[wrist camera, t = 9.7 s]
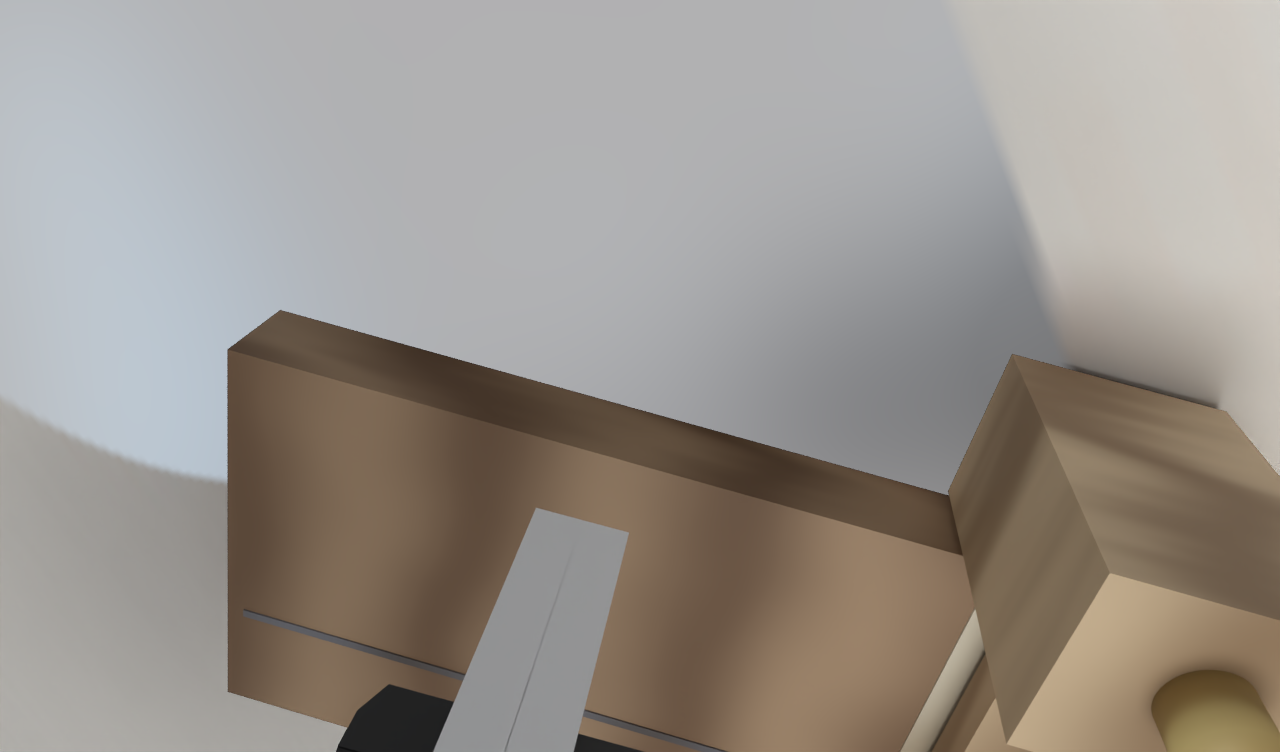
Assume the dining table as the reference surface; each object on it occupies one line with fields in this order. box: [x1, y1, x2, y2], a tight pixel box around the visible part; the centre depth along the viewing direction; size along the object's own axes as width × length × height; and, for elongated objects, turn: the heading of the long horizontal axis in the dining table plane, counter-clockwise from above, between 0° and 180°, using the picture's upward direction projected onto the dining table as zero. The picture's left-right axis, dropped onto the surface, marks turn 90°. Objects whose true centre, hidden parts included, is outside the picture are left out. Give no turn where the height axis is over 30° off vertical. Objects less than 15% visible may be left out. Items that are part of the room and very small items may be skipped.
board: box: [228, 310, 986, 752], centre depth 26 cm, size 25×12×3 cm, turn 78°
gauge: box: [932, 354, 1280, 752], centre depth 20 cm, size 5×13×9 cm, turn 168°
